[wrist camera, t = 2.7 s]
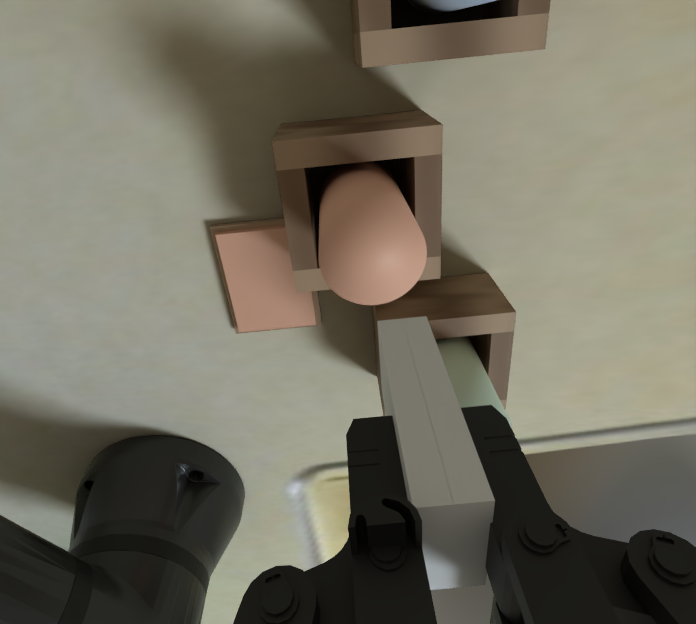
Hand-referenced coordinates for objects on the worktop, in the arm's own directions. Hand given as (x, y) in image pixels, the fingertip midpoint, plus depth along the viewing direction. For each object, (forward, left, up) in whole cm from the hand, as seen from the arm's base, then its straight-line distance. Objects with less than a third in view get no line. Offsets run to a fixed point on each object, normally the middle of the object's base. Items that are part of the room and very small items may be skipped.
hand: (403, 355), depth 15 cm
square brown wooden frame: (+5, -12, -20) cm, 24 cm away
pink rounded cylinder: (0, 0, -17) cm, 17 cm away
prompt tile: (-7, -6, -20) cm, 22 cm away
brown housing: (0, 0, -20) cm, 20 cm away
